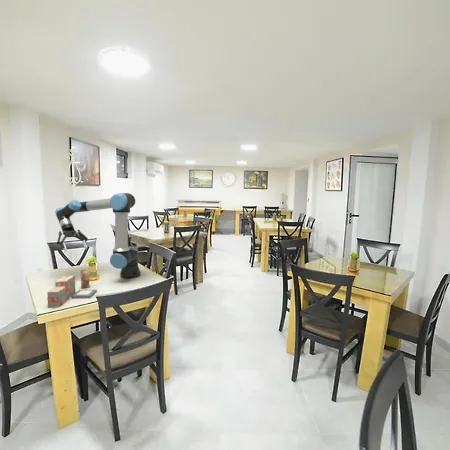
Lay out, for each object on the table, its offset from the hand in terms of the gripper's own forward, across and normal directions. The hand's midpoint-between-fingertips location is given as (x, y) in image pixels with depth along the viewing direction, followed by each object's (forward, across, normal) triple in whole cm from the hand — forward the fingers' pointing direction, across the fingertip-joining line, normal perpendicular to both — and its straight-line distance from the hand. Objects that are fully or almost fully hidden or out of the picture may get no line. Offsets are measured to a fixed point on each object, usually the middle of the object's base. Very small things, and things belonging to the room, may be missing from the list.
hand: (76, 249), depth 192 cm
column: (+25, 0, -9) cm, 27 cm away
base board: (+35, +6, 0) cm, 35 cm away
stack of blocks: (+34, +18, -2) cm, 38 cm away
